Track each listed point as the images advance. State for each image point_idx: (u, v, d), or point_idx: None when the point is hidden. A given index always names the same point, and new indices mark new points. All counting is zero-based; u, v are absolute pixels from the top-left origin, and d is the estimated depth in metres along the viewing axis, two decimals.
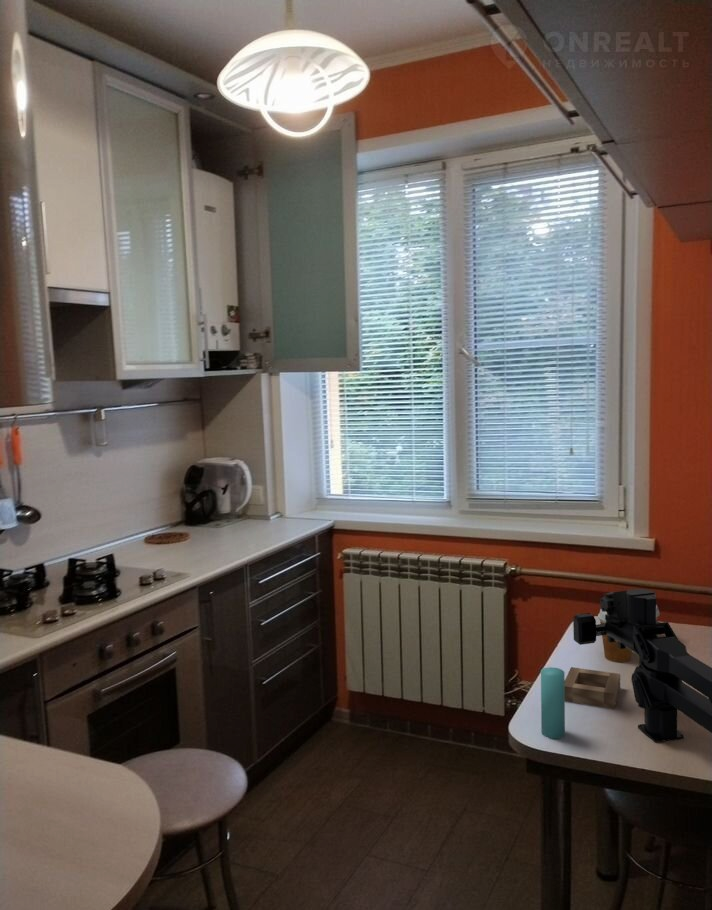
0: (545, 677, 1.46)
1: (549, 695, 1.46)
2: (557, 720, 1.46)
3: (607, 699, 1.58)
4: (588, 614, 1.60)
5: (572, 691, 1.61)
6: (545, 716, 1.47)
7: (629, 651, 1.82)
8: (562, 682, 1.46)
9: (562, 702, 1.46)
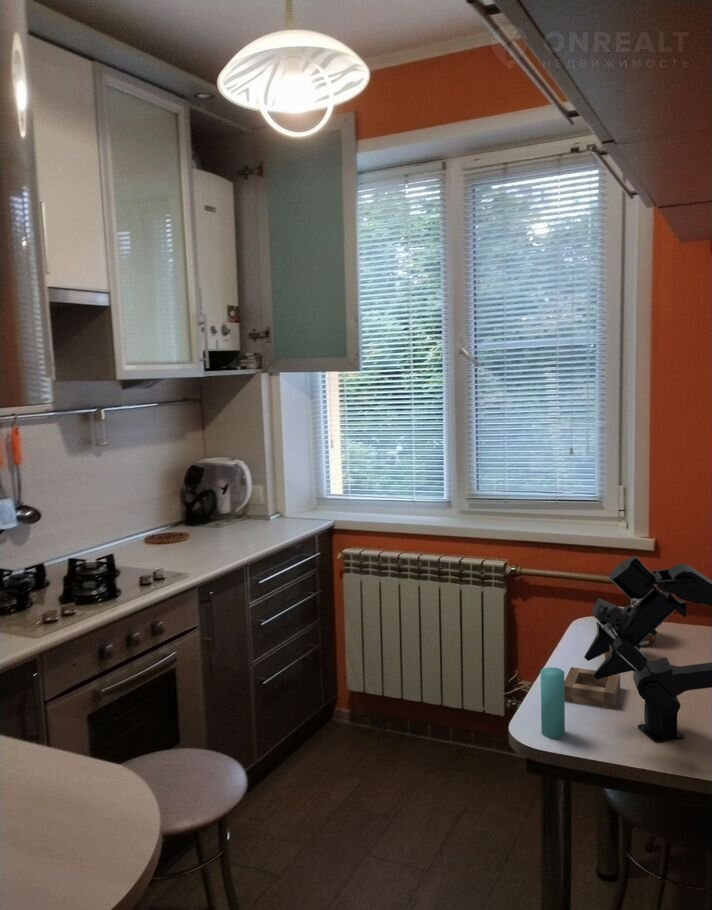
0: (545, 677, 1.46)
1: (549, 696, 1.46)
2: (557, 720, 1.46)
3: (607, 699, 1.58)
4: (615, 641, 1.40)
5: (572, 691, 1.61)
6: (545, 716, 1.47)
7: None
8: (562, 682, 1.46)
9: (562, 702, 1.46)
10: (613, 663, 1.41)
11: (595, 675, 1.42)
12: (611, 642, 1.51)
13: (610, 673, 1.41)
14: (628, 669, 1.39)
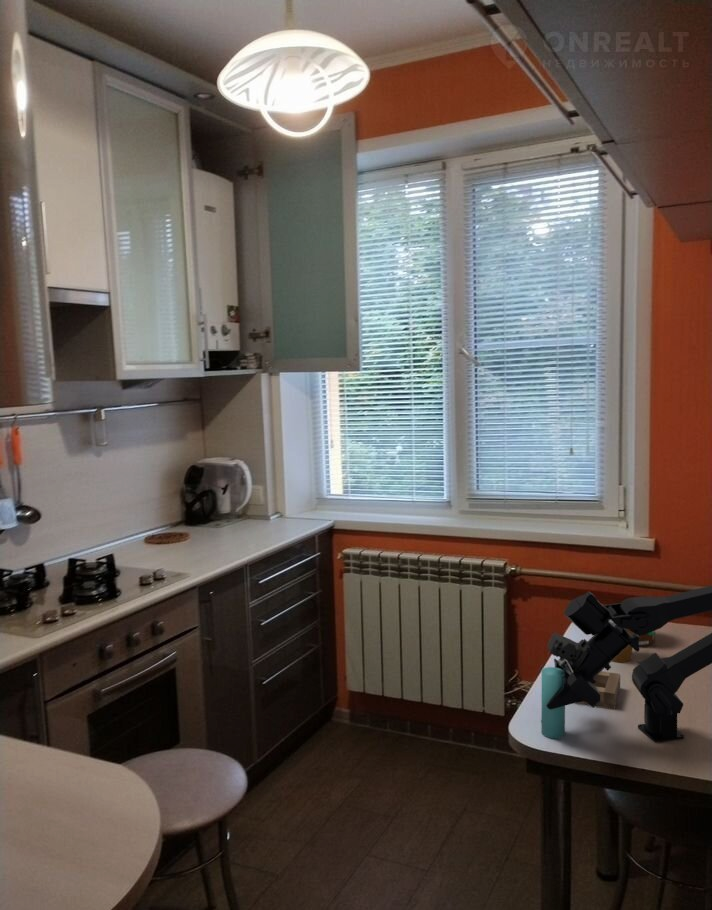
0: (546, 677, 1.46)
1: (550, 695, 1.46)
2: (557, 720, 1.46)
3: (607, 699, 1.58)
4: (569, 677, 1.41)
5: None
6: (546, 716, 1.47)
7: (629, 651, 1.82)
8: None
9: None
10: (565, 693, 1.44)
11: (548, 705, 1.45)
12: None
13: (562, 703, 1.44)
14: (580, 700, 1.43)
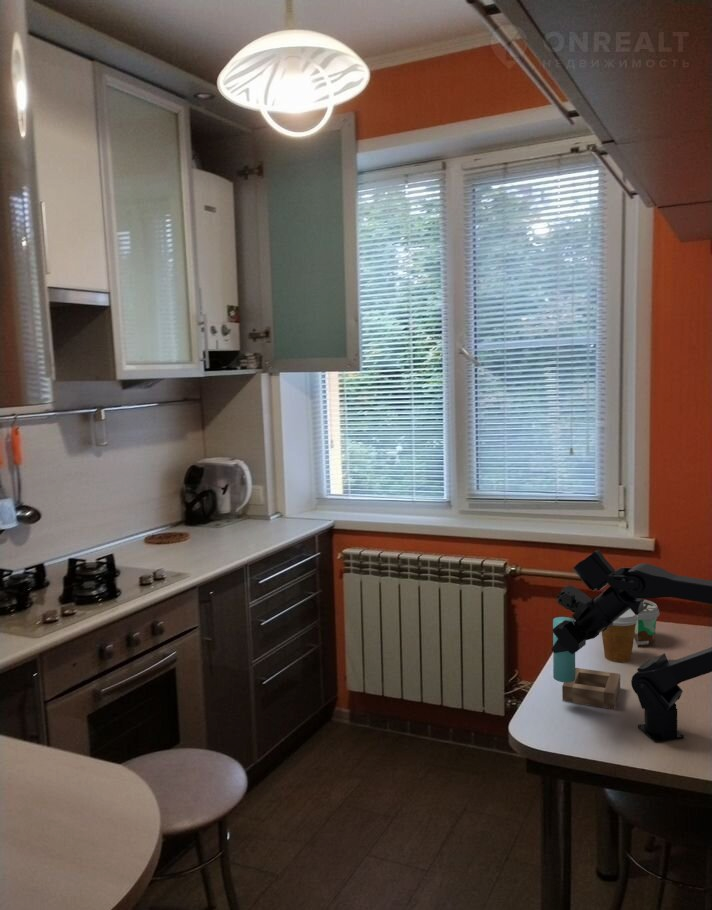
0: (553, 623, 1.58)
1: (555, 640, 1.57)
2: (562, 664, 1.57)
3: (607, 699, 1.58)
4: None
5: (572, 691, 1.61)
6: (553, 659, 1.59)
7: (629, 651, 1.82)
8: None
9: None
10: None
11: (552, 649, 1.57)
12: None
13: (562, 649, 1.55)
14: None
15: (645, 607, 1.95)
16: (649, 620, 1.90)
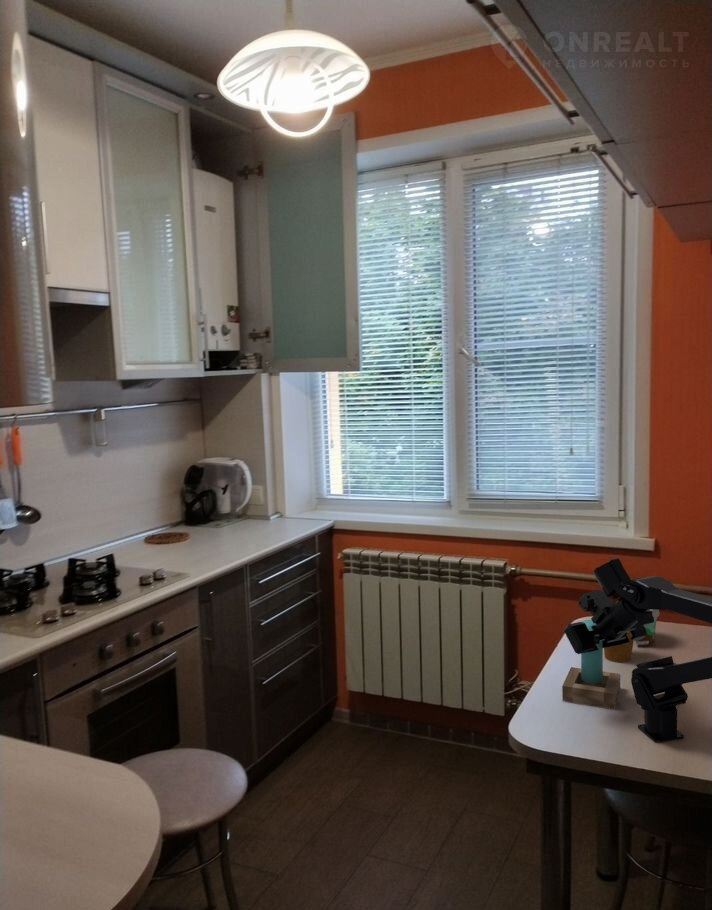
0: None
1: None
2: (585, 665, 1.63)
3: (607, 699, 1.58)
4: None
5: (572, 691, 1.61)
6: (581, 659, 1.65)
7: (629, 651, 1.82)
8: None
9: None
10: None
11: None
12: None
13: None
14: None
15: None
16: None
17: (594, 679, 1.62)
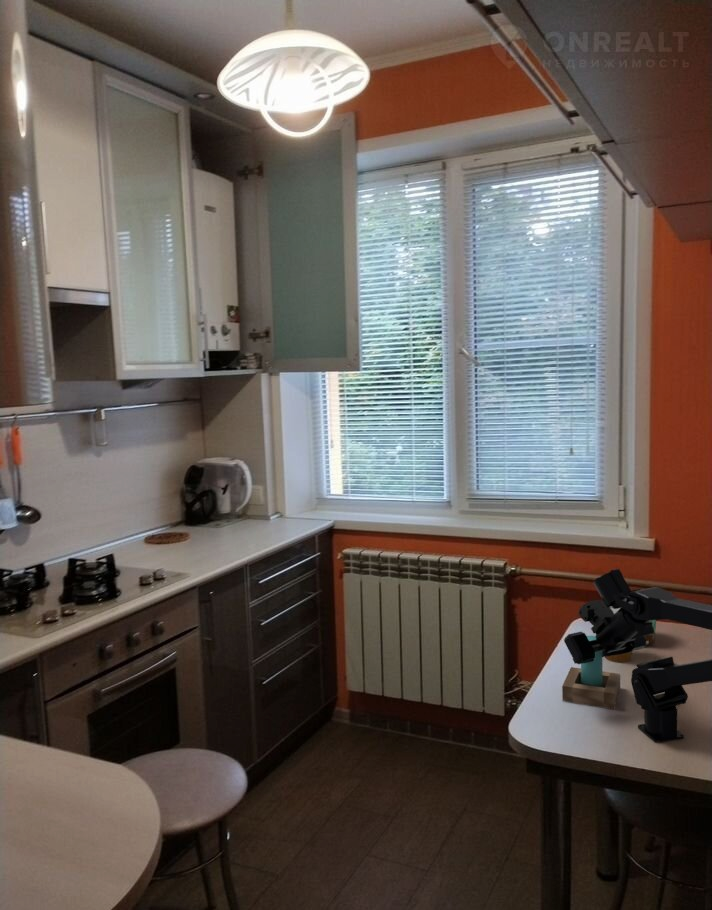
0: None
1: None
2: (585, 681, 1.63)
3: (607, 699, 1.58)
4: None
5: (572, 691, 1.61)
6: None
7: None
8: None
9: (590, 667, 1.62)
10: None
11: (573, 659, 1.64)
12: None
13: None
14: None
15: None
16: (649, 620, 1.90)
17: None
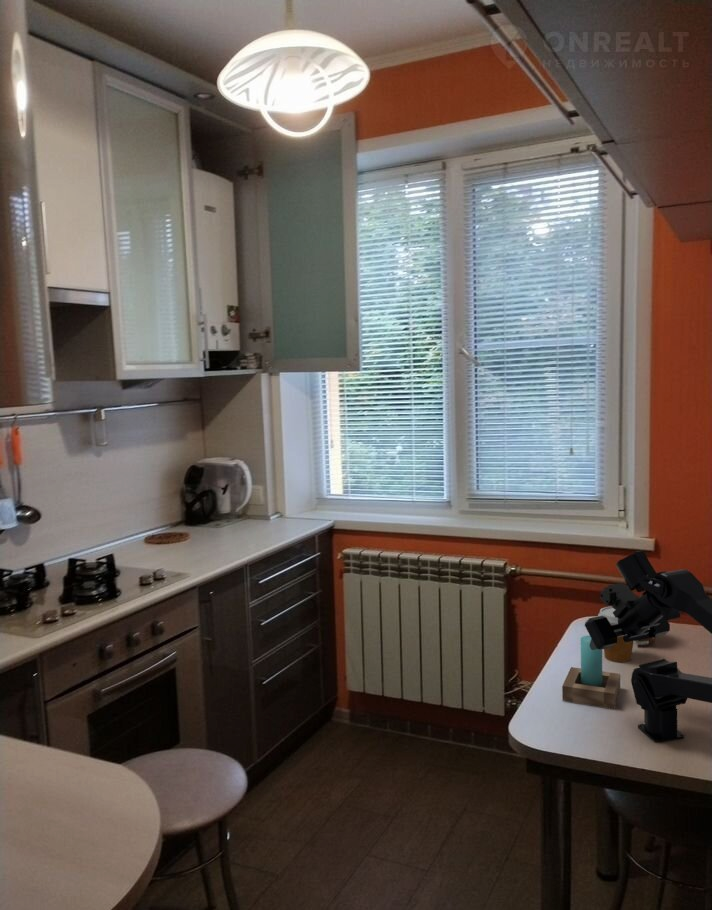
0: None
1: (581, 657, 1.64)
2: (585, 681, 1.63)
3: (607, 699, 1.58)
4: None
5: (572, 691, 1.61)
6: None
7: (629, 651, 1.82)
8: (590, 649, 1.62)
9: (590, 667, 1.62)
10: None
11: (590, 645, 1.57)
12: None
13: (596, 647, 1.54)
14: None
15: None
16: None
17: None
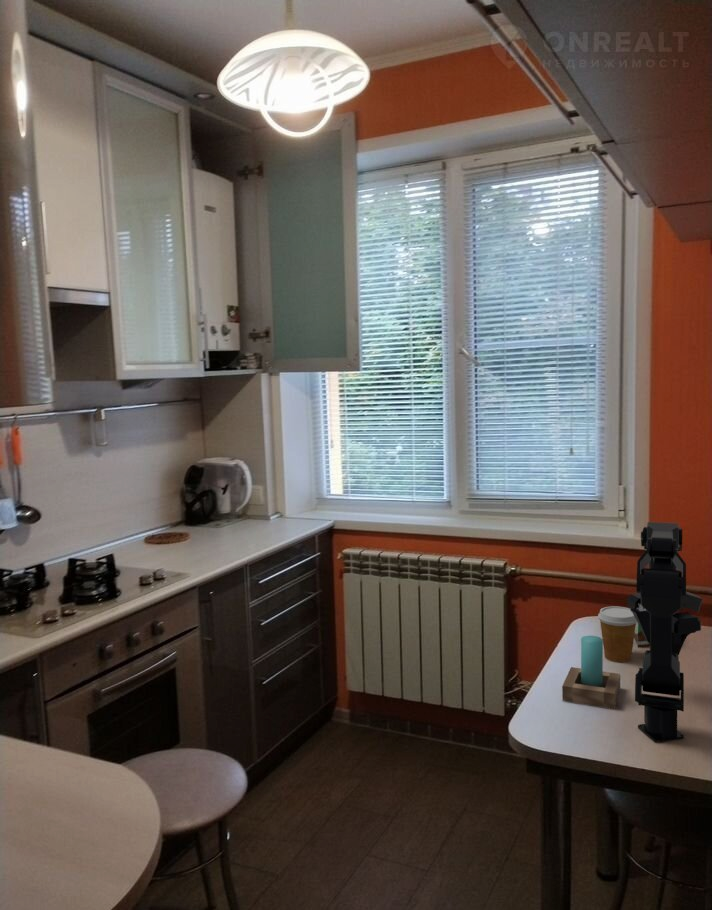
0: (581, 640, 1.65)
1: (581, 657, 1.64)
2: (585, 681, 1.63)
3: (607, 699, 1.58)
4: None
5: (572, 691, 1.61)
6: (581, 675, 1.66)
7: (629, 651, 1.82)
8: (591, 649, 1.62)
9: (591, 667, 1.62)
10: None
11: None
12: None
13: None
14: None
15: None
16: None
17: None
